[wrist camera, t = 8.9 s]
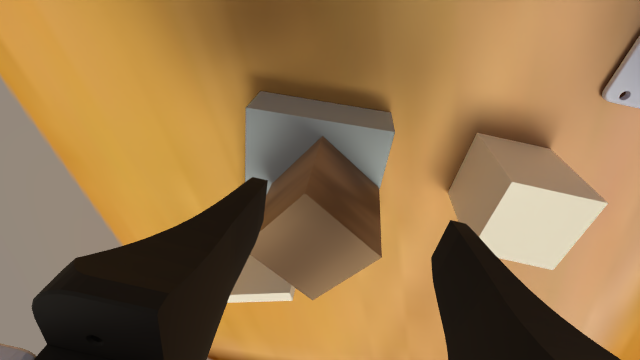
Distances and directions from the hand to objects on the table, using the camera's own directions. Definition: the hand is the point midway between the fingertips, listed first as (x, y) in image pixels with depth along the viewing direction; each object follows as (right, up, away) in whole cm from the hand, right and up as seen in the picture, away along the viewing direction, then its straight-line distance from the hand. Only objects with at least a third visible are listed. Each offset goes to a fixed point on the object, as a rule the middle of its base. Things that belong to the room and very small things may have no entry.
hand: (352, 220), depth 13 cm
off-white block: (+11, +2, +9) cm, 14 cm away
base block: (-1, +3, +11) cm, 11 cm away
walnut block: (-1, +1, +8) cm, 8 cm away
